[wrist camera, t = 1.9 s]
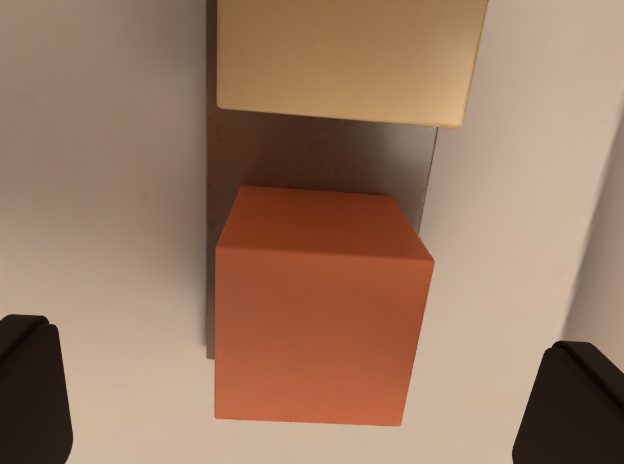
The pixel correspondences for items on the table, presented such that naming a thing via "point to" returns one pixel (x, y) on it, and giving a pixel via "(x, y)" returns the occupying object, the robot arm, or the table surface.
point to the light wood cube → (350, 58)
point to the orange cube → (317, 307)
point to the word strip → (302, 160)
